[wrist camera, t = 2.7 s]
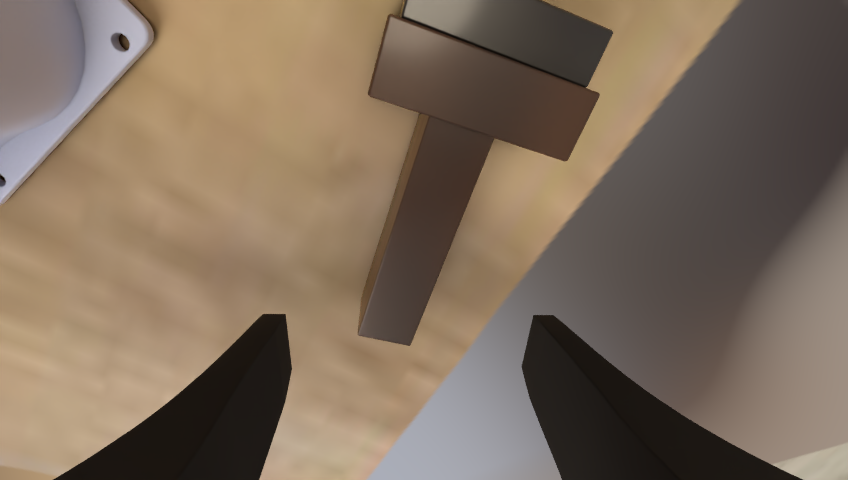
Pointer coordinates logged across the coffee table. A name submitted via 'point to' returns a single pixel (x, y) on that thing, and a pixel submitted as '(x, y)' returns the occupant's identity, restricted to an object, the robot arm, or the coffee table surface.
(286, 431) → the coffee table surface
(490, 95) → the brush
